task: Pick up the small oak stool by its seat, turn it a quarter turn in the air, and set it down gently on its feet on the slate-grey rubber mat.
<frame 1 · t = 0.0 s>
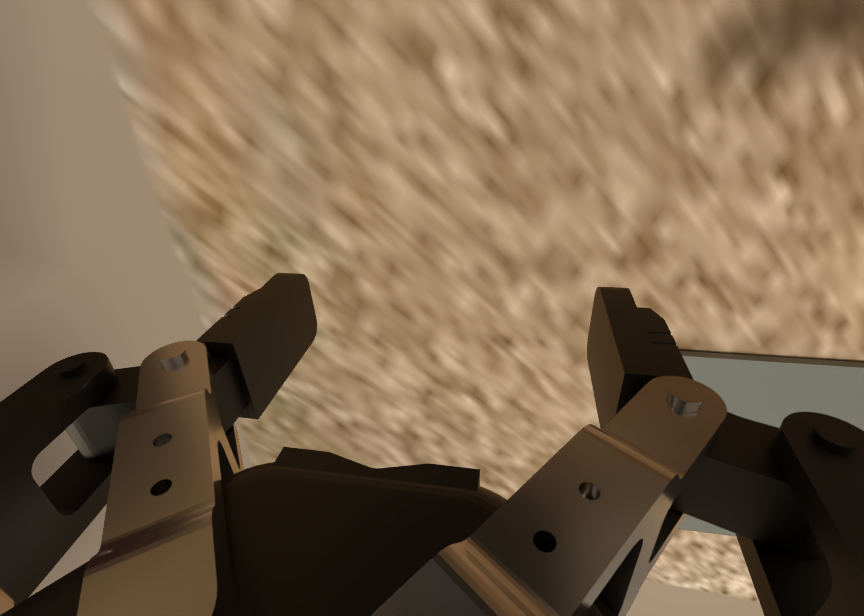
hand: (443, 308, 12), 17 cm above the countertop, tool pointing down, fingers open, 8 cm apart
mat: (717, 452, 36), on the countertop
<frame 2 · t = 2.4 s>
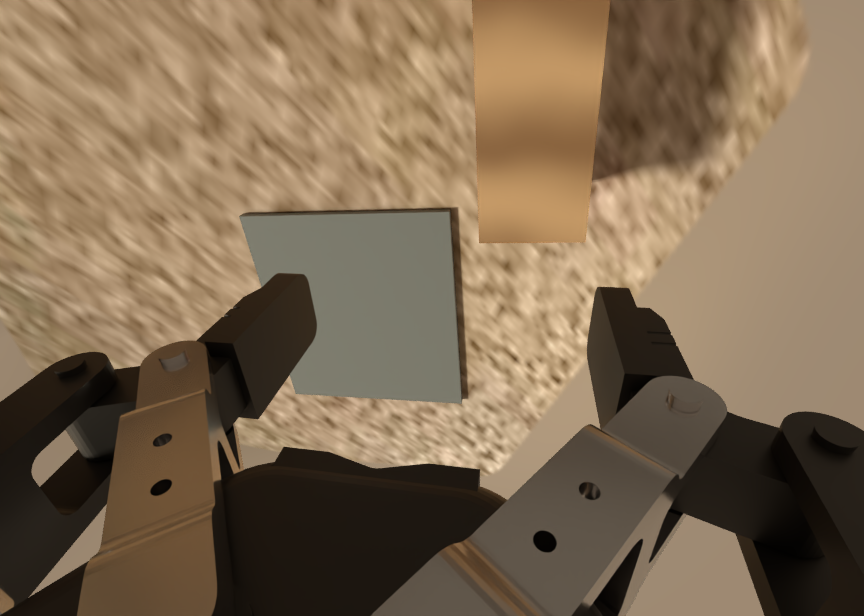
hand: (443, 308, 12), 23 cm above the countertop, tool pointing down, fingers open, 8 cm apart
mat: (361, 314, 42), on the countertop
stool: (531, 107, 30), on the countertop
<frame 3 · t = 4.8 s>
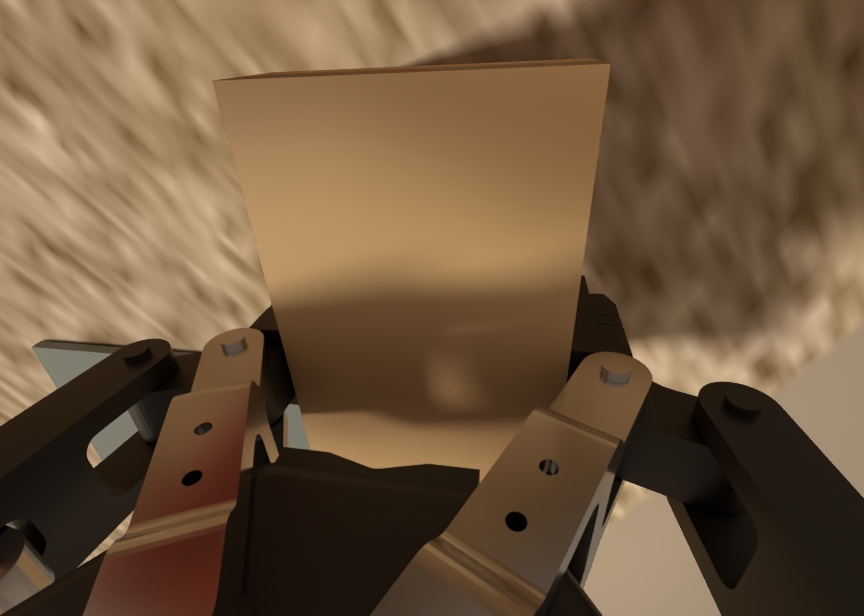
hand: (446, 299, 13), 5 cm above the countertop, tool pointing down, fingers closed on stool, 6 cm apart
mat: (235, 478, 29), on the countertop
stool: (466, 232, 17), on the countertop, touching gripper
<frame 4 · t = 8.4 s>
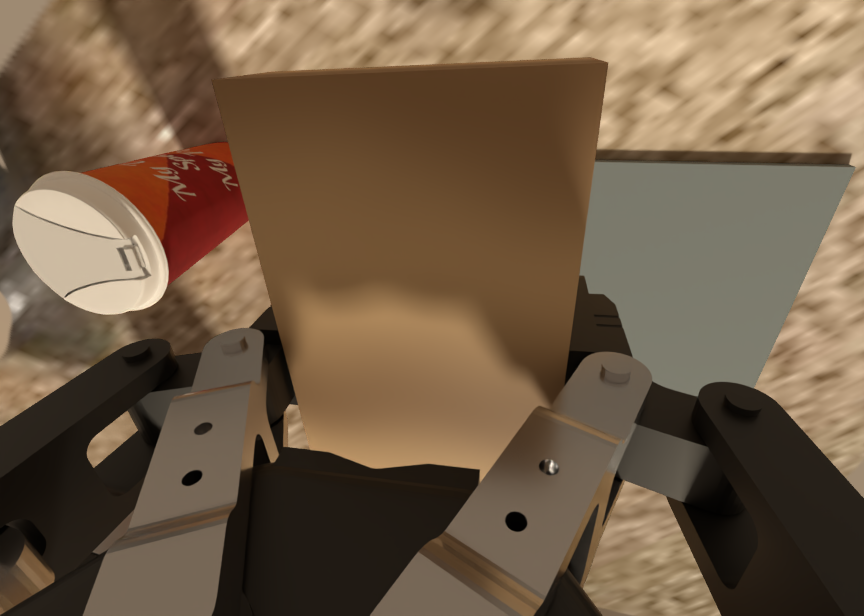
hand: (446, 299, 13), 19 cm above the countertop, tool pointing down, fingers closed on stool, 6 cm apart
mat: (634, 288, 32), on the countertop
paper cup: (234, 179, 34), on the countertop
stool: (465, 232, 17), point 14 cm above the countertop, touching gripper
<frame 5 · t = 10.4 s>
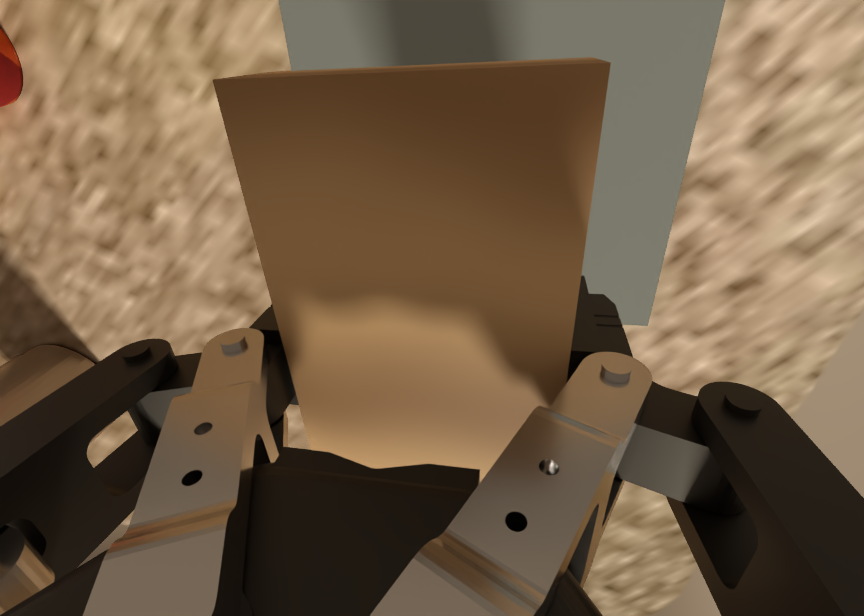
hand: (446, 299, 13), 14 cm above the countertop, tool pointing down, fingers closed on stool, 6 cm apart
mat: (484, 173, 25), on the countertop
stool: (466, 232, 17), point 9 cm above the countertop, touching gripper
when the fingers open (7 cm above the countertop, at t = 12.1 s): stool drops 1 cm, resting on mat.
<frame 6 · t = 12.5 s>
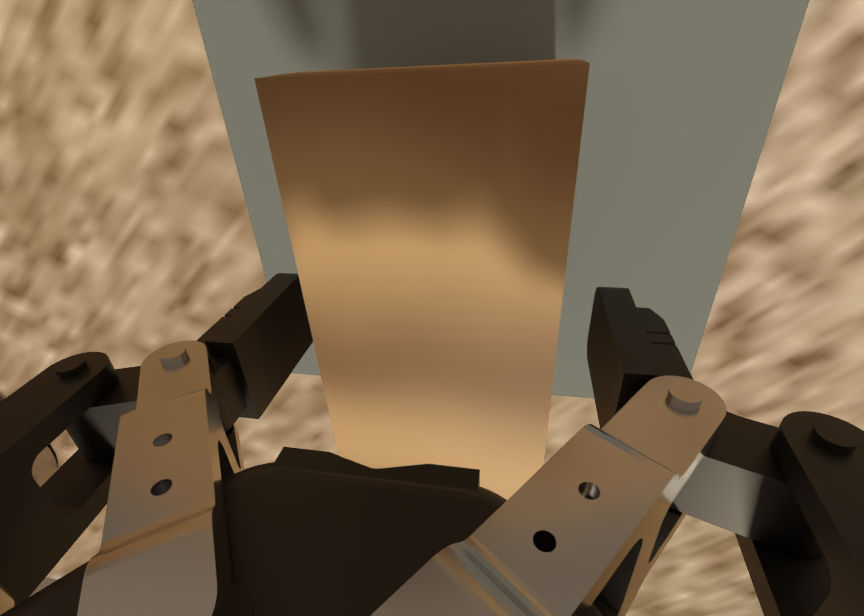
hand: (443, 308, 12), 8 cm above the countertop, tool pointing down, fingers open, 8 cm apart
mat: (471, 216, 19), on the countertop
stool: (468, 221, 18), point 1 cm above the countertop, touching mat
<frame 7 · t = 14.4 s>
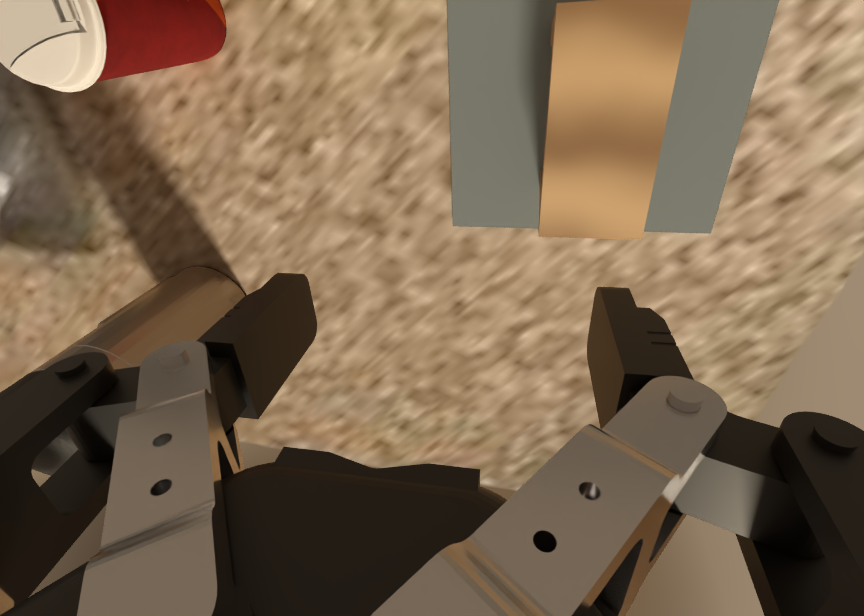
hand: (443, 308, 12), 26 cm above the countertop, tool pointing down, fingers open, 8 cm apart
mat: (588, 107, 32), on the countertop
paper cup: (194, 18, 34), on the countertop
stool: (588, 109, 31), point 1 cm above the countertop, touching mat
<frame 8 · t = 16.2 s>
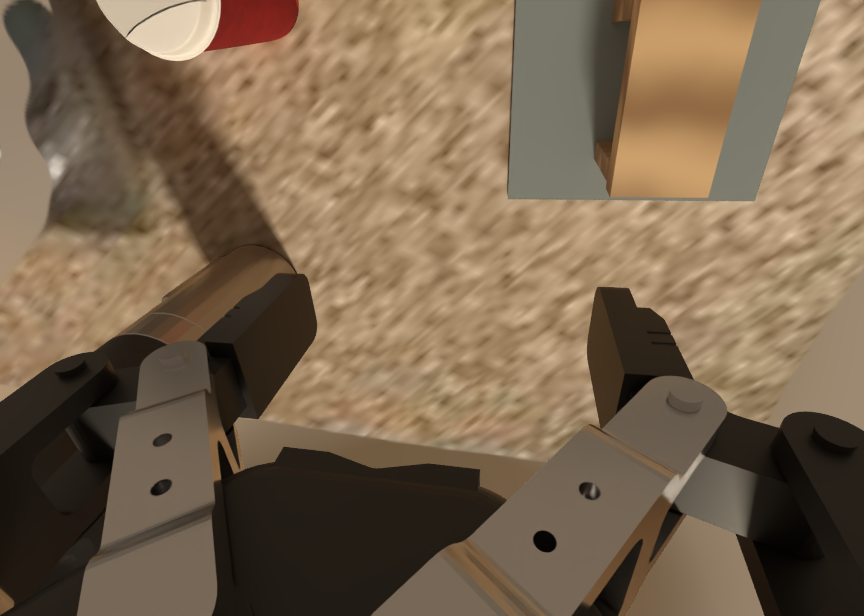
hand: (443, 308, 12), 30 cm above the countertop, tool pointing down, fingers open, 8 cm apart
mat: (644, 82, 34), on the countertop
paper cup: (266, 0, 36), on the countertop
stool: (645, 83, 34), point 1 cm above the countertop, touching mat
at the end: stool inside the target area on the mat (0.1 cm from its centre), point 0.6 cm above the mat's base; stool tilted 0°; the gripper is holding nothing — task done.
